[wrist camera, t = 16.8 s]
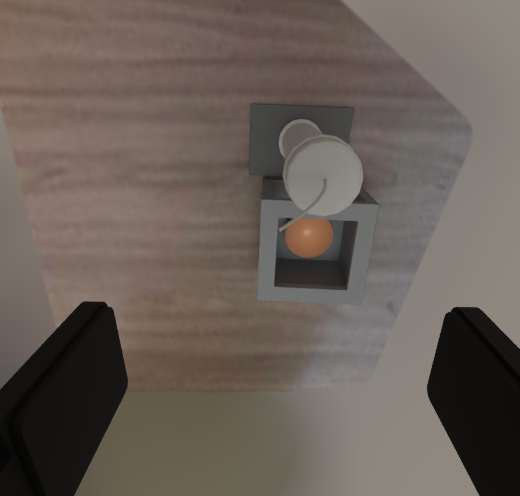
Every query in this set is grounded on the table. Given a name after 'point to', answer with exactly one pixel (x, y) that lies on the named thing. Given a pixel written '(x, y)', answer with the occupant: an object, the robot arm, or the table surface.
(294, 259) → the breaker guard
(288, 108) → the mat
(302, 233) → the button
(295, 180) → the grey cylindrical piece
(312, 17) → the table surface
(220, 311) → the table surface
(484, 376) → the robot arm
